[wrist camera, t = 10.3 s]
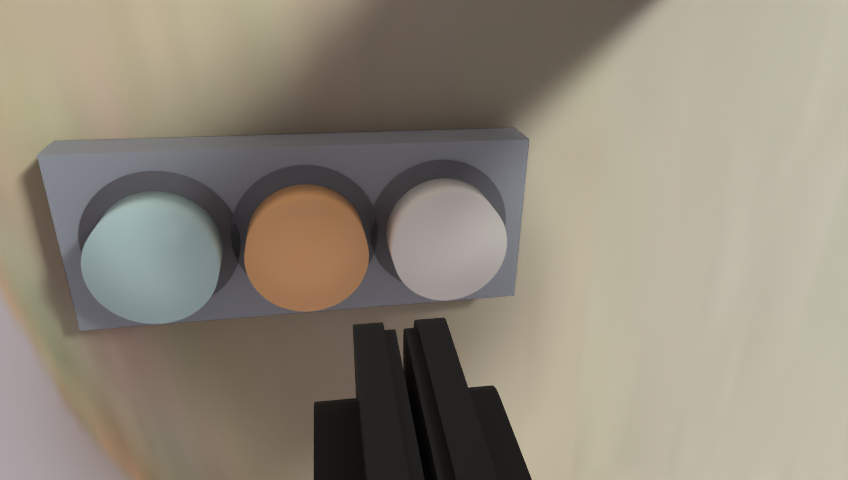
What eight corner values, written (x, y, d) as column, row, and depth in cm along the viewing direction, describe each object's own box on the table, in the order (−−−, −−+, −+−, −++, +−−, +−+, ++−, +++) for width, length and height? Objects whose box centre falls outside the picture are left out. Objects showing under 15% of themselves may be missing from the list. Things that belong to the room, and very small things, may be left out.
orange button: (362, 181, 27) (368, 198, 25) (364, 284, 29) (369, 306, 27) (241, 187, 26) (238, 204, 24) (252, 292, 28) (250, 316, 26)
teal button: (215, 188, 26) (210, 206, 24) (229, 294, 28) (225, 318, 26) (83, 194, 25) (67, 213, 23) (107, 303, 27) (95, 328, 25)
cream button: (497, 175, 28) (511, 191, 26) (489, 275, 30) (502, 295, 28) (386, 180, 27) (393, 197, 25) (386, 282, 29) (392, 304, 27)
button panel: (514, 127, 30) (530, 139, 28) (501, 276, 33) (514, 296, 31) (53, 140, 26) (35, 155, 24) (92, 307, 29) (79, 332, 27)
